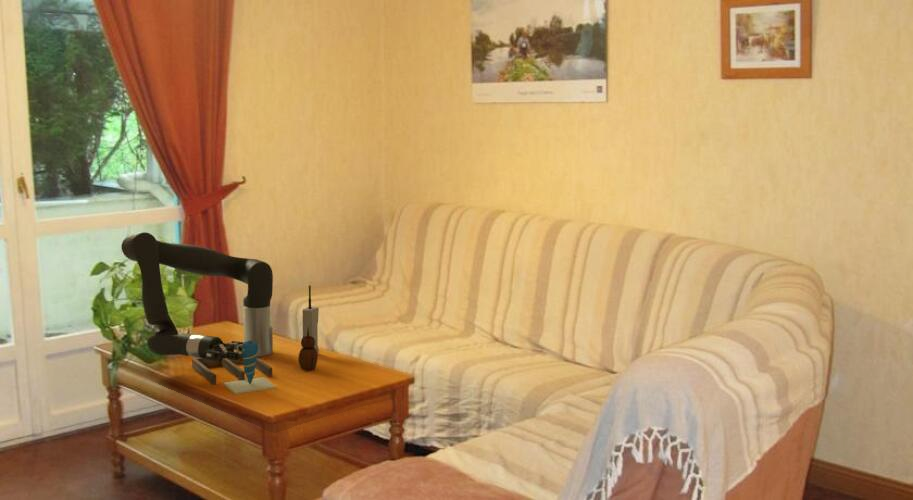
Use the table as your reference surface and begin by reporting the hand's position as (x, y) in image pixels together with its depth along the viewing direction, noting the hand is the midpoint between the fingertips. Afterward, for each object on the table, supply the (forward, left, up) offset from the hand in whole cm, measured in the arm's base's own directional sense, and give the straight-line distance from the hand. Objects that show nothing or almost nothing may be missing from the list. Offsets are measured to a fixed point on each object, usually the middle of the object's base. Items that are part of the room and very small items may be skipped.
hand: (246, 353), depth 307 cm
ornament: (-1, 0, -10) cm, 10 cm away
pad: (-1, +1, -10) cm, 11 cm away
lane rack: (-1, -17, -10) cm, 20 cm away
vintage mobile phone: (-32, -26, -11) cm, 42 cm away
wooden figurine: (-24, -9, -11) cm, 28 cm away
